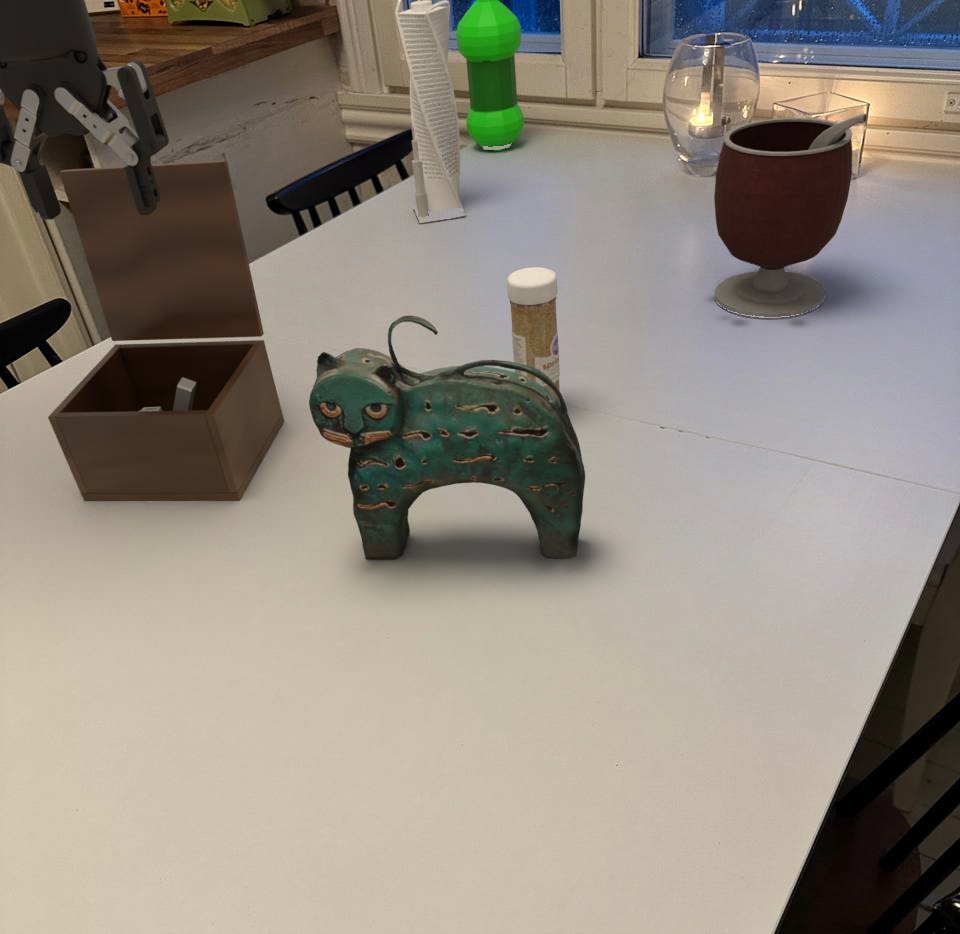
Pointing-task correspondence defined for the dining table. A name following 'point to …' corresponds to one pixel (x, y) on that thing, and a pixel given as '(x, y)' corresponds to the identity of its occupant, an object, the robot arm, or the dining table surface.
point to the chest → (170, 422)
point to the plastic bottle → (491, 72)
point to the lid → (166, 253)
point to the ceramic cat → (448, 440)
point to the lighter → (180, 396)
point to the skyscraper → (431, 106)
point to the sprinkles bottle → (535, 322)
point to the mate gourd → (780, 208)
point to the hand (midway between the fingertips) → (99, 214)
